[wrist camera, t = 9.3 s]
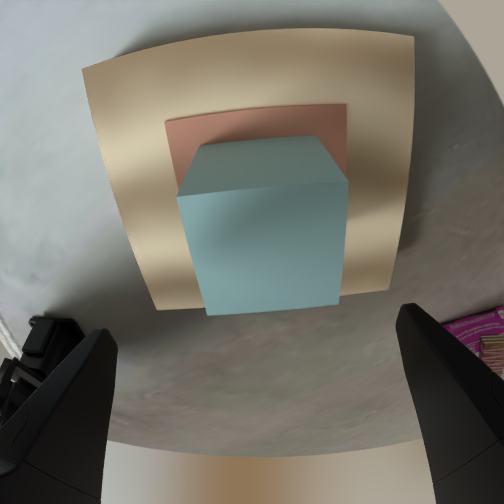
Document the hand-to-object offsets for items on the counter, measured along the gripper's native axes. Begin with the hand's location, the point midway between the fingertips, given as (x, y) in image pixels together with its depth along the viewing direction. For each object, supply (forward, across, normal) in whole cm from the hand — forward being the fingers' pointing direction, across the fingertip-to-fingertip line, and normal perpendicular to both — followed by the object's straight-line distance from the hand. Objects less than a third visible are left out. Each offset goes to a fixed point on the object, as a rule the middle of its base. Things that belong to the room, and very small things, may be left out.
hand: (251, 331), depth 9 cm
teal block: (+9, -1, 0) cm, 9 cm away
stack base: (+12, -1, 0) cm, 12 cm away
